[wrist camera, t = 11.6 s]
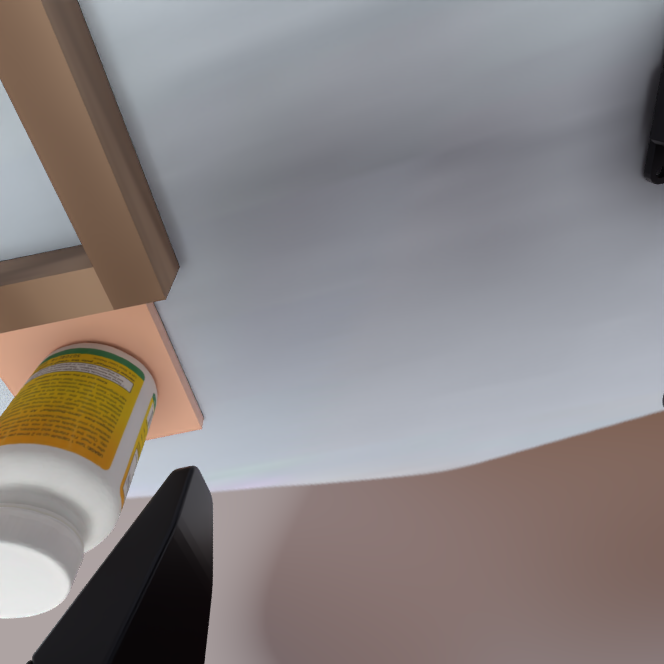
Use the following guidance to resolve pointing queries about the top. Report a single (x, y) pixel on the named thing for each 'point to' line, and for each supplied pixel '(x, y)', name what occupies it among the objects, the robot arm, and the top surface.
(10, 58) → the pocket block
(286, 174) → the top surface
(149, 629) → the robot arm
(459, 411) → the top surface
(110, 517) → the supplement bottle
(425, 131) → the top surface
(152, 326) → the coaster
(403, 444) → the top surface
